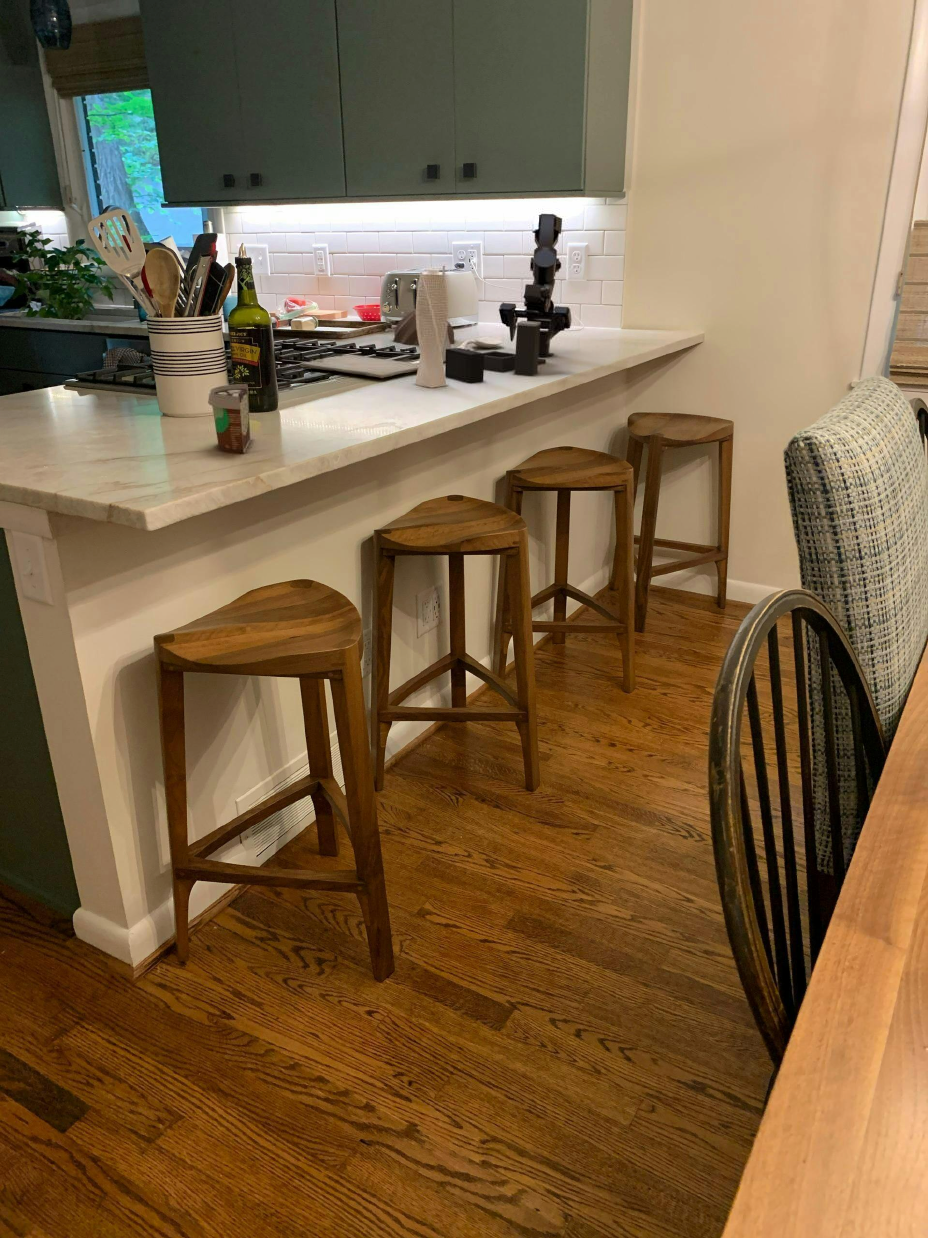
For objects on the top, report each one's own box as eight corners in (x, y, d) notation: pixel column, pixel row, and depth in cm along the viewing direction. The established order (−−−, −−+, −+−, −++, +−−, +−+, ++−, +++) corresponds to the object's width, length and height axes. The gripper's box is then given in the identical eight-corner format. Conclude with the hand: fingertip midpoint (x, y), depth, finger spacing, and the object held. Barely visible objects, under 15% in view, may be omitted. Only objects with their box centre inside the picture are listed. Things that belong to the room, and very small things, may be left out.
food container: (217, 438, 172) (213, 383, 168) (251, 438, 172) (247, 383, 168) (206, 455, 160) (201, 396, 156) (242, 455, 161) (238, 396, 157)
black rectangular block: (487, 381, 234) (488, 352, 231) (470, 383, 230) (471, 354, 228) (461, 374, 241) (462, 346, 238) (445, 376, 238) (445, 348, 235)
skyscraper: (453, 385, 227) (456, 262, 215) (432, 389, 222) (434, 263, 210) (430, 380, 231) (432, 260, 220) (409, 384, 226) (409, 261, 215)
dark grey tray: (498, 356, 271) (499, 343, 270) (545, 362, 263) (546, 350, 261) (453, 364, 255) (454, 351, 253) (502, 372, 246) (503, 358, 245)
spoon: (432, 356, 267) (432, 343, 266) (482, 343, 293) (482, 332, 292) (460, 359, 263) (460, 346, 262) (508, 346, 290) (508, 334, 288)
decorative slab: (297, 369, 240) (297, 361, 240) (348, 359, 257) (348, 352, 256) (384, 382, 228) (384, 373, 227) (431, 370, 245) (431, 363, 244)
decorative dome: (380, 340, 294) (379, 306, 289) (422, 334, 307) (423, 303, 303) (425, 347, 282) (425, 313, 278) (467, 341, 296) (468, 308, 292)
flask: (456, 358, 264) (457, 322, 260) (453, 362, 258) (454, 325, 254) (431, 357, 265) (431, 321, 261) (427, 361, 258) (428, 324, 254)
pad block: (519, 371, 248) (522, 320, 243) (537, 372, 247) (540, 321, 242) (514, 374, 244) (517, 322, 239) (532, 375, 243) (536, 323, 237)
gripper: (502, 270, 243) (488, 318, 238) (572, 273, 238) (560, 323, 233) (509, 299, 253) (495, 346, 248) (576, 303, 248) (564, 351, 243)
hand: (528, 341), depth 243 cm, fingers open, 9 cm apart
